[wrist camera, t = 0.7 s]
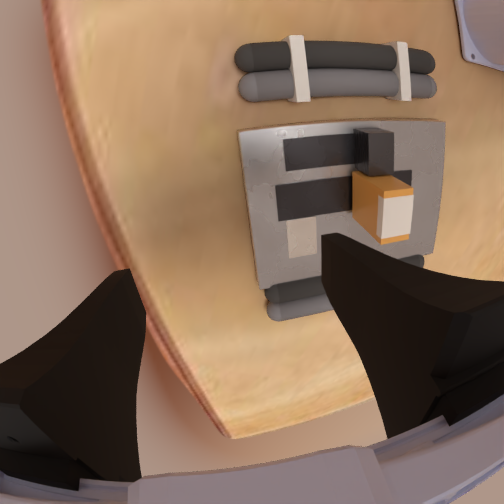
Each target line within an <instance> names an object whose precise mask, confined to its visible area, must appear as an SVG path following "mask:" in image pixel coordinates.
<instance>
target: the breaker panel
mask: <svg viewBox="0 0 504 504" xmlns="http://www.w3.org/2000/svg"><path fill="white" fill-rule="evenodd" d="M237 136H238V143H239V150H240V158H241V165H242V172H243V180H244V187H245V195H246V202H247V209H248V217H249V224H250V231H251V239H252V246H253V254H254V261H255V268H256V276H257V282H258V285H259V289H260V290H261V289H266V288H270V287H271V286H273V285H276V284H281V283H286V282H291V281H296V280H302V279H307V278H312V277H317V276H321V235H324V234H330V233H336V232H337V233H340V234H343V235H345V236H348V237H350V238H352V239H354V240H356V241H358V242H360V243H362V244H365V245H367V246H369V247H371V248H373V249H375V250H377V251H379V252H382V253H384V254H386V255H389V256H391V257H393V258H396V259H401V258H405V257H410V256H414V255H422V256H423V255H427V254H431V253H433V249H434V244H435V238H436V231H437V225H438V217H439V210H440V201H441V192H442V182H443V169H444V152H445V122H443V121H439V120H433V119H348V120H328V121H314V122H301V123H290V124H280V125H271V126H263V127H255V128H247V129H240V130H237ZM352 171H361V172H363V173H364V174H366V175H368V176H377V175H387V174H390V175H392V176H393V177H395V178H397V179H399V180H401V181H402V182H404V183H406V184H408V185H409V186H411V187H413V188H414V190H413V195H414V200H413V211H412V221H411V230H410V234H409V239H408V240H403V241H398V242H393V243H388V244H383V245H380V244H379V243H378V242H377V241H376V240H375V239H374V238H373V237H372V236H371V235H370V234H369V233H368V232H367V231H366V230H365V229H364V228H363V227H362V226H361V225H360V224H359V223H358V222H357V221H356V220H354V219H353V218H352V206H353V177H352Z"/></svg>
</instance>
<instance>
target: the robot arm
mask: <svg viewBox="0 0 504 504" xmlns="http://www.w3.org/2000/svg"><path fill="white" fill-rule="evenodd" d="M455 5H456V10H457V16H458V22H459V29H460V37H461V45H462V55H463V58H464V59H465V60H466V61H469V62H472V63H476V64H480V65H483V66H487V67H490V68H494V69H497V70H500V71H503V72H504V0H455ZM471 55H472V58H471ZM321 282H322V284H323V287H324V290H325V292H326V295H327V297H328V299H329V302H330V304H331V306H332V307H333V309H334V311H335V313H336V314H337V316H338V318H339V320H340V321H341V323H342V325H343V326H344V328H345V330H346V332H347V333H348V335H349V337H350V339H351V340H352V342H353V344H354V346H355V348H356V349H357V351H358V353H359V356H360V358H361V360H362V363H363V365H364V368H365V370H366V373H367V375H368V378H369V381H370V383H371V386H372V389H373V392H374V395H375V397H376V400H377V404H378V407H379V410H380V413H381V416H382V419H383V423H384V427H385V431H386V435H387V438H388V439H386V440H384V441H381V442H378V443H376V444H373V445H370V446H367V447H360V446H351V445H347V446H342V447H337V448H332V449H327V450H320V451H317V452H312V453H309V454H304V455H300V456H296V457H291V458H286V459H282V460H277V461H271V462H266V463H260V464H255V465H248V466H242V467H234V468H226V469H217V470H208V471H196V472H179V473H165V474H157V475H149V476H144V477H142V476H141V471H140V463H139V454H138V443H137V427H136V426H137V425H136V393H137V383H138V377H139V371H140V364H141V358H142V353H143V346H144V341H145V332H146V311H145V308H144V305H143V303H142V300H141V298H140V295H139V292H138V290H137V287H136V284H135V282H134V279H133V276H132V274H131V271H130V269H124V270H119V271H115V272H113V273H112V274H111V275H109V276H108V277H107V278H106V279H105V280H104V281H103V282H102V283H101V284H100V285H99V286H98V287H97V288H96V289H95V290H94V291H93V292H92V293H91V294H90V295H89V296H88V297H87V298H86V299H85V300H84V301H83V302H82V303H81V304H80V305H79V306H78V307H77V308H76V309H75V310H73V311H72V312H71V313H70V314H69V315H68V316H67V317H66V318H65V319H64V320H63V321H62V322H61V323H59V324H58V325H57V326H56V327H55V328H53V329H52V330H51V331H50V332H49V333H47V334H46V335H45V336H43V337H42V338H40V339H39V340H38V341H36V342H35V343H33V344H32V345H31V346H29V347H28V348H26V349H25V350H23V351H22V352H20V353H18V354H17V355H15V356H14V357H12V358H10V359H8V360H6V361H5V362H3V363H1V364H0V504H449V503H451V502H452V501H454V500H456V499H457V498H459V497H461V496H462V495H464V494H465V493H467V492H469V491H470V490H471V489H473V488H475V487H476V486H477V485H479V484H481V483H482V482H484V481H485V480H486V479H488V478H489V477H491V476H492V475H493V474H495V473H496V472H497V471H499V470H500V469H501V468H502V467H504V282H502V281H485V280H476V279H469V278H462V277H457V276H451V275H447V274H443V273H439V272H434V271H431V270H427V269H424V268H421V267H418V266H415V265H412V264H409V263H406V262H403V261H401V260H398V259H396V258H393V257H391V256H389V255H386V254H384V253H382V252H379V251H377V250H375V249H373V248H371V247H369V246H367V245H365V244H362V243H360V242H358V241H356V240H354V239H352V238H350V237H348V236H345V235H343V234H340V233H337V232H336V233H330V234H324V235H321Z"/></svg>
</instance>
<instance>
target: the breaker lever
mask: <svg viewBox="0 0 504 504" xmlns="http://www.w3.org/2000/svg"><path fill="white" fill-rule="evenodd" d="M352 177H353V206H352V218H353V219H354V220H356V221H357V222H358V223H359V224H360V225H361V226H362V227H363V228H364V229H365V230H366V231H367V232H368V233H369V234H370V235H371V236H372V237H373V238H374V239H375V240H376V241H377V242H378V243H379V244H380V245H383V244H388V243H393V242H398V241H403V240H408V239H409V234H410V230H411V221H412V211H413V200H414V195H413V190H414V188H413V187H411V186H409V185H408V184H406V183H404V182H402V181H401V180H399V179H397V178H395V177H393V176H392V175H390V174H387V175H377V176H368V175H366V174H364V173H363V172H361V171H352Z"/></svg>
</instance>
